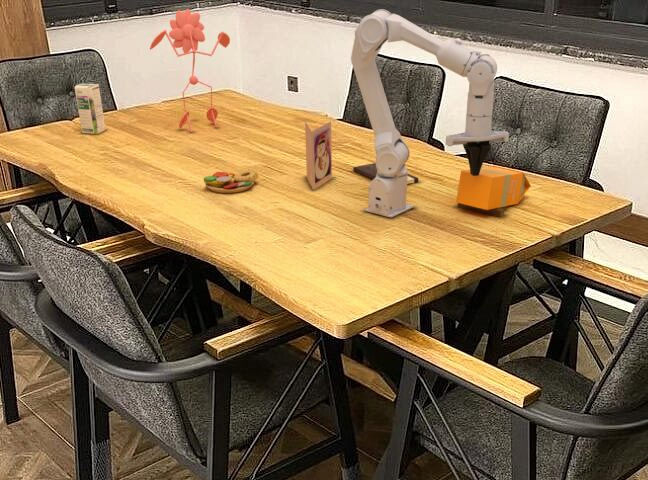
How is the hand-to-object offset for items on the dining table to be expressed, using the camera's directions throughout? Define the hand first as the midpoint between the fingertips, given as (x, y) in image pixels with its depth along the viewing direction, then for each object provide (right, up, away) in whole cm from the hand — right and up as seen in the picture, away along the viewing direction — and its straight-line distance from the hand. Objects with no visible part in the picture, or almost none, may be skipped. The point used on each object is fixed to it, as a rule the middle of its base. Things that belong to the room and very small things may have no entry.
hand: (474, 174), depth 194 cm
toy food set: (-60, +4, +27) cm, 66 cm away
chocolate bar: (-19, +9, +32) cm, 38 cm away
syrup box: (-111, +36, +77) cm, 139 cm away
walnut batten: (+3, -7, +8) cm, 11 cm away
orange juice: (0, -3, +2) cm, 4 cm away
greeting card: (-38, +6, +29) cm, 48 cm away
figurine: (-79, +39, +81) cm, 120 cm away
